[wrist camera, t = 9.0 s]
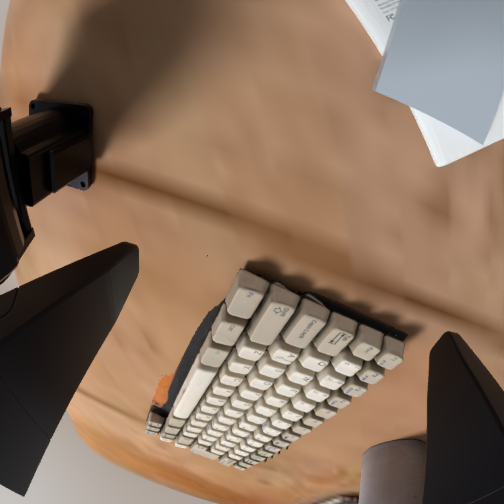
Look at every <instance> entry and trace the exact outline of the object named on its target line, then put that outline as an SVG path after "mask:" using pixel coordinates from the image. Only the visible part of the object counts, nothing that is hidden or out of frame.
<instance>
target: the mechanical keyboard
mask: <svg viewBox="0 0 504 504" xmlns="http://www.w3.org/2000/svg"><path fill="white" fill-rule="evenodd" d="M207 256H208V255H207ZM407 336H408V334H406V333H404V332H402V331H400V330H397V329H395V328H393V327H391V326H389V325H387V324H384V323H382V322H380V321H378V320H376V319H374V318H372V317H370V316H368V315H365V314H363V313H361V312H359V311H357V310H355V309H352V308H350V307H348V306H345V305H343V304H341V303H338V302H336V301H334V300H331V299H329V298H326V297H324V296H321V295H319V294H317V293H312V292H304V293H301V292H300V291H299V293H295V292H293V291H291V290H289V289H288V288H287V287H286V286H284V285H283V284H282V283H281V282H280V281H275V280H269V281H266V280H265V279H263V278H261V275H255V274H253V273H251V272H249V271H247V270H245V269H240V270H239V272H238V274H237V277H236V279H235V281H234V283H233V285H232V287H231V290H230V292H229V293H228V295H227V297H226V298H225V299H224V300H223V301H222V302H221V303H220V304H219V305H218V306H215V307H214V308H213V309H212V310H211V311H209V312H208V314H207V315H206V317H205V318H204V319H203V322H202V323H201V324H200V326H199V327H198V328H197V331H196V332H195V335H194V336H193V338H192V340H191V341H190V344H189V345H188V347H187V349H186V351H185V353H184V356H183V357H182V359H181V361H180V363H179V365H178V367H177V369H176V371H175V373H174V374H172V375H165V377H162V378H161V380H159V383H158V387H157V389H156V392H155V395H154V397H153V400H152V405H151V407H150V411H149V414H148V417H147V420H146V421H147V424H146V430H145V433H146V434H149V435H153V436H157V435H158V434H159V432H160V439H161V440H162V441H166V442H172V441H173V440H174V439H175V446H177V447H181V448H187V447H188V446H189V447H190V451H191V452H193V453H196V454H199V455H202V456H204V457H207V458H210V459H213V460H216V459H217V458H219V462H220V464H223V465H226V466H231V465H232V464H233V466H234V468H236V469H239V470H242V471H244V470H246V469H247V468H250V467H251V466H253V464H257V463H259V462H260V461H263V460H264V459H265V461H264V462H266V460H267V458H268V457H270V456H271V459H272V458H273V455H274V453H275V452H278V454H280V451H281V450H282V448H283V447H287V448H286V450H287V449H288V446H289V445H290V444H291V442H292V441H293V442H294V441H297V440H298V439H300V437H301V434H302V435H306V434H308V433H309V432H311V431H312V427H318V426H320V425H321V424H323V423H324V418H326V419H329V418H331V417H333V416H334V415H336V414H337V410H338V408H340V409H342V408H345V407H346V406H347V405H348V404H350V403H351V399H352V396H353V397H360V396H361V395H362V394H363V393H365V392H366V391H367V386H368V383H369V384H376V383H377V382H378V381H379V380H380V379H382V378H383V377H384V372H385V368H387V369H389V370H391V369H394V368H395V367H396V366H397V365H398V364H400V363H401V362H402V361H403V353H404V346H405V344H404V343H403V341H404V339H405V338H406V337H407ZM162 376H163V375H162Z"/></svg>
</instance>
